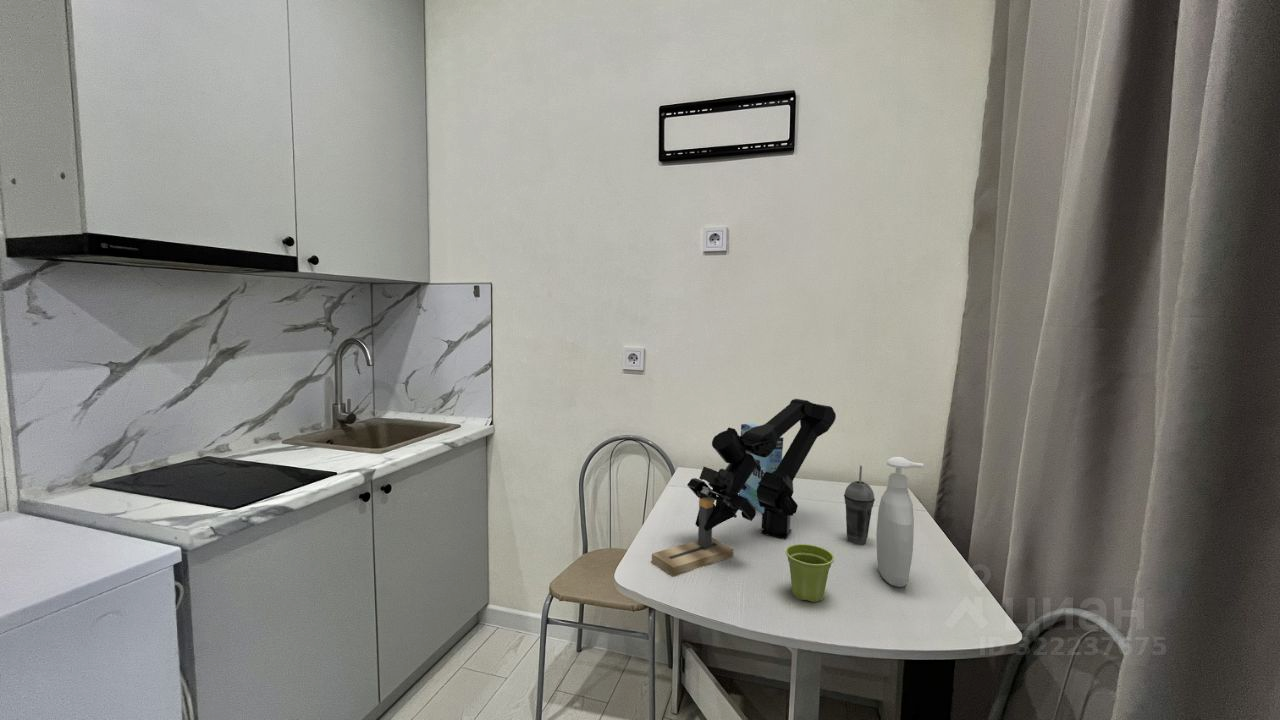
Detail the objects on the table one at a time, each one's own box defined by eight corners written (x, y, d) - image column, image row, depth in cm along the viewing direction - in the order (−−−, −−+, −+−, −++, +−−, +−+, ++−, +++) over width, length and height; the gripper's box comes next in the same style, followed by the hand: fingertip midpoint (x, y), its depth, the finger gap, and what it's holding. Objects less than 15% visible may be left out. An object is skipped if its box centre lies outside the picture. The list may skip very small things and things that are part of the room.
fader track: (710, 544, 129) (710, 536, 129) (733, 556, 122) (733, 547, 122) (651, 562, 119) (651, 553, 118) (673, 576, 112) (673, 567, 112)
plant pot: (807, 611, 100) (810, 568, 99) (773, 588, 108) (775, 548, 107) (842, 600, 104) (844, 558, 103) (807, 579, 112) (809, 540, 112)
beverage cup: (872, 538, 135) (876, 463, 133) (872, 549, 128) (876, 470, 127) (842, 533, 138) (846, 459, 136) (840, 543, 131) (844, 466, 130)
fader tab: (704, 542, 124) (705, 497, 123) (711, 546, 122) (713, 500, 121) (697, 544, 123) (699, 499, 122) (705, 548, 121) (706, 502, 120)
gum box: (737, 493, 168) (740, 423, 166) (751, 492, 169) (754, 423, 167) (764, 515, 149) (767, 437, 147) (780, 514, 150) (784, 436, 148)
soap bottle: (927, 597, 106) (935, 467, 104) (884, 592, 108) (892, 464, 106) (905, 564, 120) (912, 450, 118) (867, 560, 122) (874, 448, 120)
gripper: (694, 446, 131) (657, 496, 125) (749, 463, 115) (711, 522, 110) (716, 472, 136) (682, 521, 130) (771, 492, 120) (736, 549, 115)
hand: (700, 527), depth 121 cm, fingers closed on fader tab, 2 cm apart
